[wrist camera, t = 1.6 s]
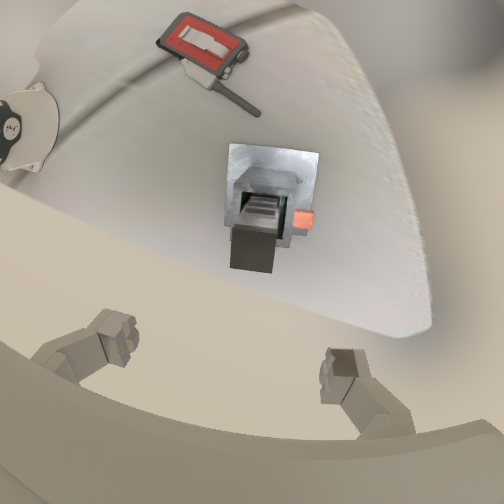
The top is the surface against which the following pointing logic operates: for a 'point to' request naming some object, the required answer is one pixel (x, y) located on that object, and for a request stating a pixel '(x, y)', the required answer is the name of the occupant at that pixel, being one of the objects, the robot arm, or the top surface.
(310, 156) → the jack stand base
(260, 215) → the column
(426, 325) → the top surface
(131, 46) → the top surface
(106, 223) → the top surface
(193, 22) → the walkie-talkie
